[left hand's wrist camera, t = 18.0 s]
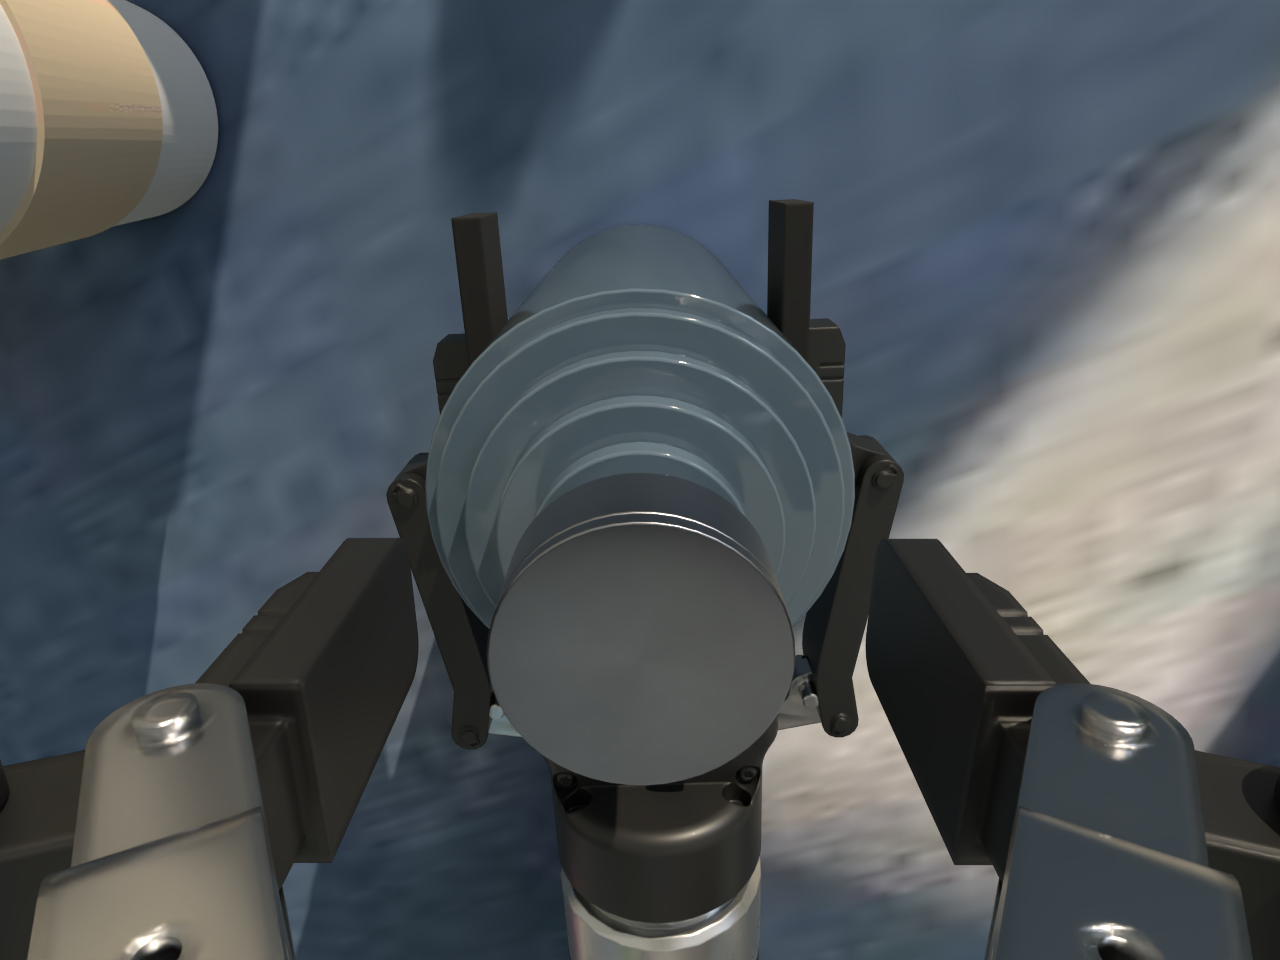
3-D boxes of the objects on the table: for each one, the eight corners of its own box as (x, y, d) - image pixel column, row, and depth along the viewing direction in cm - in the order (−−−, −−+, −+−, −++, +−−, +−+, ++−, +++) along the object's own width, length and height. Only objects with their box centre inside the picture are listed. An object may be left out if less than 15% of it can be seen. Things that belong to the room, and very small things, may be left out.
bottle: (540, 441, 32) (385, 876, 12) (523, 228, 29) (285, 355, 9) (744, 434, 32) (914, 863, 12) (748, 221, 29) (976, 332, 9)
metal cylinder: (801, 669, 12) (826, 745, 11) (559, 733, 13) (548, 815, 11) (735, 436, 11) (751, 482, 9) (466, 516, 11) (438, 573, 10)
